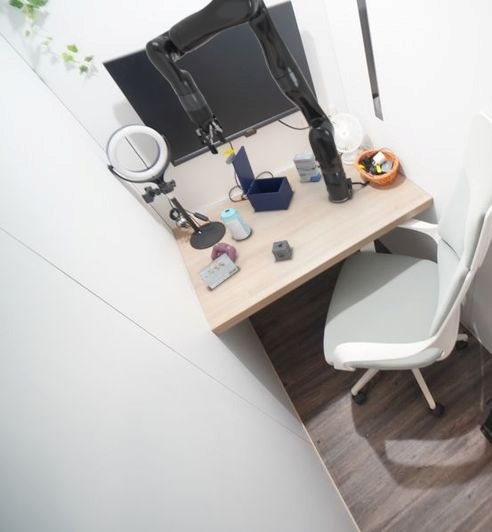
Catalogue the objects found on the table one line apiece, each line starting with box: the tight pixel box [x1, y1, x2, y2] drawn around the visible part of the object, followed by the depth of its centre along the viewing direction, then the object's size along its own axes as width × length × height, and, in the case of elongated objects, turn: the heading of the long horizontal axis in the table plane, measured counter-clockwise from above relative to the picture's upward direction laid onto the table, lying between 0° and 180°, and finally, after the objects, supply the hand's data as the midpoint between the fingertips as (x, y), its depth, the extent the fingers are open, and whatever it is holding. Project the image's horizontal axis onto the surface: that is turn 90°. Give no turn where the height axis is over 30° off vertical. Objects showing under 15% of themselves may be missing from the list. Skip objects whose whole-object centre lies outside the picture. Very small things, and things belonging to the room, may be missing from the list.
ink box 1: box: [197, 252, 239, 290], centre depth 113 cm, size 2×11×10 cm, turn 140°
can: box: [220, 207, 251, 241], centre depth 127 cm, size 7×7×12 cm
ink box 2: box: [292, 153, 321, 183], centre depth 149 cm, size 8×5×12 cm, turn 84°
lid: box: [225, 145, 256, 196], centre depth 132 cm, size 15×12×5 cm
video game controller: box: [210, 242, 237, 263], centre depth 122 cm, size 10×5×7 cm, turn 71°
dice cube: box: [271, 239, 292, 262], centre depth 119 cm, size 5×5×5 cm
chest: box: [245, 175, 294, 213], centre depth 141 cm, size 15×12×9 cm
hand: (220, 147), depth 124 cm, fingers open, 8 cm apart
